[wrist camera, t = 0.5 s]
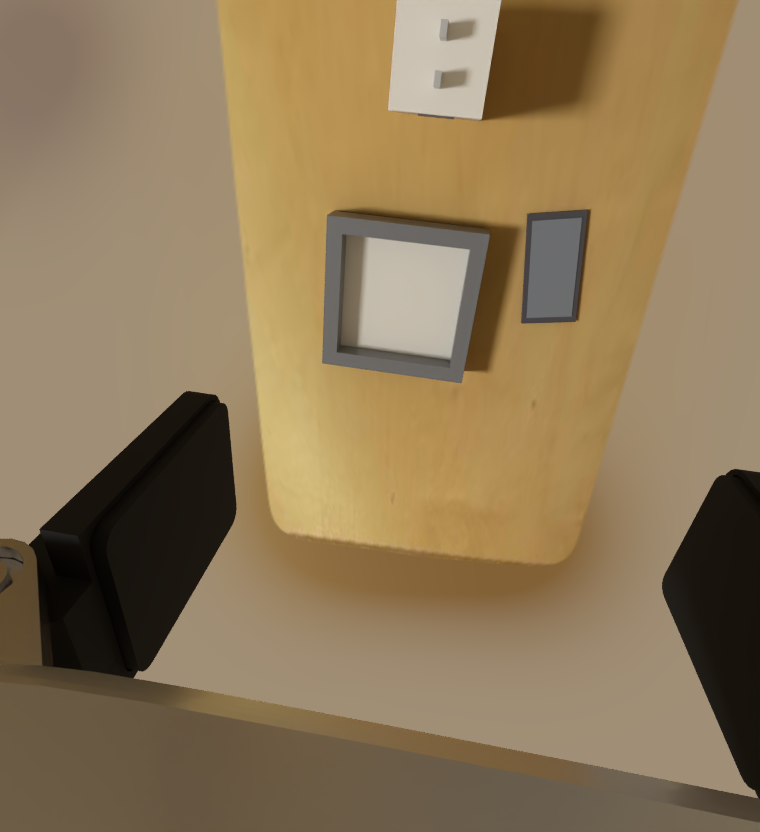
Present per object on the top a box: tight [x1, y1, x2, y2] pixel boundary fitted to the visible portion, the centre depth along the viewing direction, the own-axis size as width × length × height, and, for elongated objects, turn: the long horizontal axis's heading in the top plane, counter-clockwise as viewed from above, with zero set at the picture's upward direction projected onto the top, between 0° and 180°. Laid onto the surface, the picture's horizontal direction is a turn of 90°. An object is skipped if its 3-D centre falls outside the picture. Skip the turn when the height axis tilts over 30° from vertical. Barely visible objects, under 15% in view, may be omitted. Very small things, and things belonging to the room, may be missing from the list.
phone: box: [521, 210, 588, 323], centre depth 32 cm, size 7×4×1 cm, turn 5°
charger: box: [388, 0, 501, 121], centre depth 25 cm, size 5×4×7 cm
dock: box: [322, 211, 490, 383], centre depth 34 cm, size 10×10×2 cm
